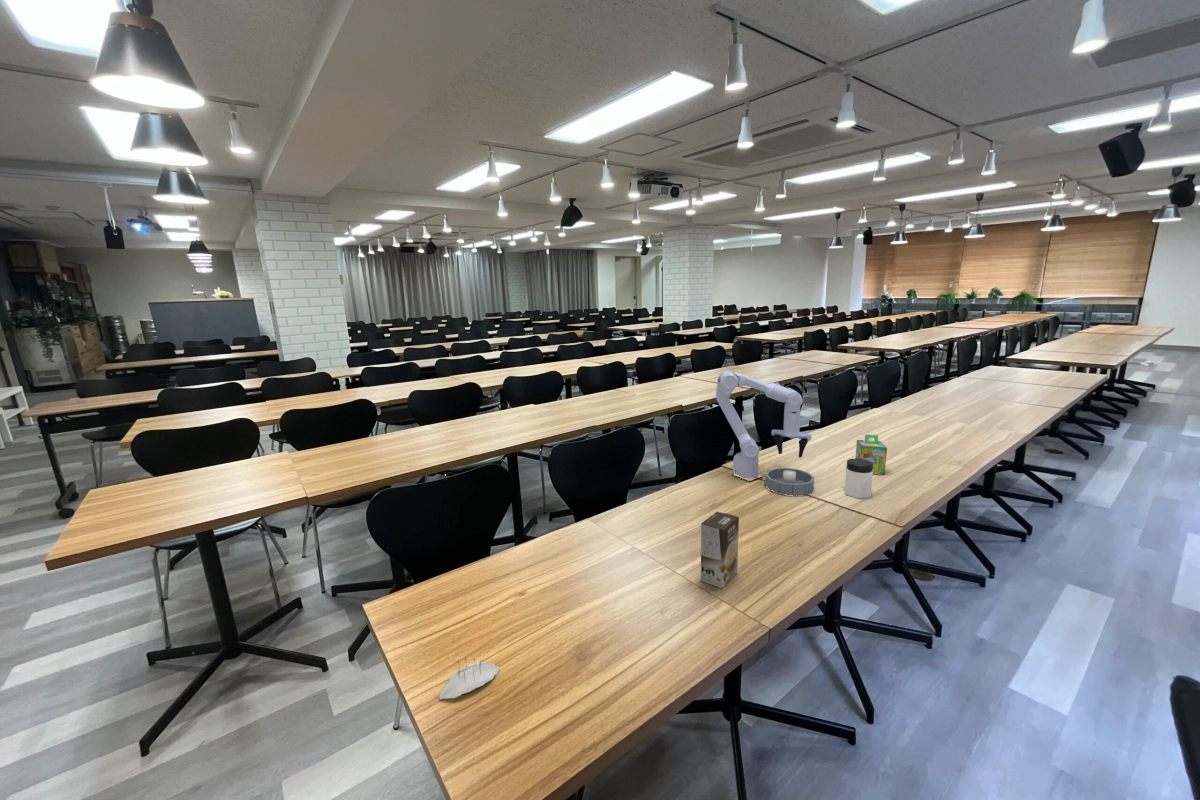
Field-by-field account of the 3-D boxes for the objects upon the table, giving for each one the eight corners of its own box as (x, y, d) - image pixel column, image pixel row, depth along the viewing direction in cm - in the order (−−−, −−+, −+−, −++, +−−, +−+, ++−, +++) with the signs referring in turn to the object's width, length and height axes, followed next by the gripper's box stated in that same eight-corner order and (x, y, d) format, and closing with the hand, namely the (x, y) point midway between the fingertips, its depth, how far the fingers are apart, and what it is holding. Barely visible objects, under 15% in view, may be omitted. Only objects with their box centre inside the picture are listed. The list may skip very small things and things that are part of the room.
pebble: (780, 484, 177) (780, 471, 176) (787, 481, 179) (788, 469, 178) (790, 488, 173) (791, 475, 172) (797, 485, 175) (798, 472, 174)
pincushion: (445, 712, 85) (441, 685, 84) (435, 690, 90) (431, 665, 89) (505, 679, 92) (503, 655, 91) (493, 661, 97) (491, 637, 96)
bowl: (756, 485, 179) (756, 474, 178) (784, 475, 187) (785, 465, 186) (793, 500, 165) (794, 488, 164) (822, 489, 173) (823, 477, 172)
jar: (853, 499, 164) (855, 467, 161) (838, 490, 171) (840, 459, 169) (877, 497, 165) (879, 464, 162) (861, 488, 173) (863, 457, 170)
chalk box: (859, 474, 186) (861, 438, 183) (854, 466, 195) (856, 431, 191) (885, 475, 183) (888, 439, 180) (879, 467, 192) (882, 432, 189)
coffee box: (723, 589, 117) (723, 530, 114) (699, 580, 121) (700, 523, 118) (738, 572, 124) (739, 516, 120) (715, 564, 128) (716, 510, 124)
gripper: (769, 421, 182) (768, 454, 185) (808, 426, 173) (806, 461, 176) (775, 417, 187) (774, 449, 190) (813, 422, 178) (812, 456, 181)
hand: (790, 455), depth 183 cm, fingers open, 7 cm apart
